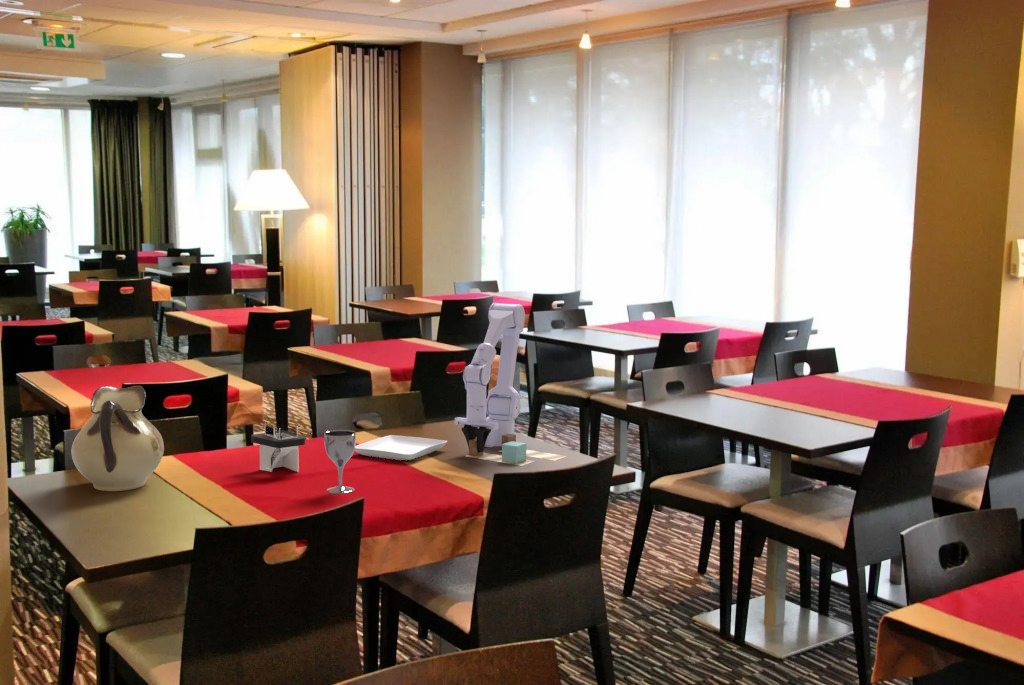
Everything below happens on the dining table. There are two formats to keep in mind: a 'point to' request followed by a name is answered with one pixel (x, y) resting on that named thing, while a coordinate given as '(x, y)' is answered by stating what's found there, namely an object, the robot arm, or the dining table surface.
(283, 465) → the black-topped pedestal
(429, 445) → the salad plate
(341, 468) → the wine glass
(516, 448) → the teal block
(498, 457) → the strip
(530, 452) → the empty strip
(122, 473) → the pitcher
